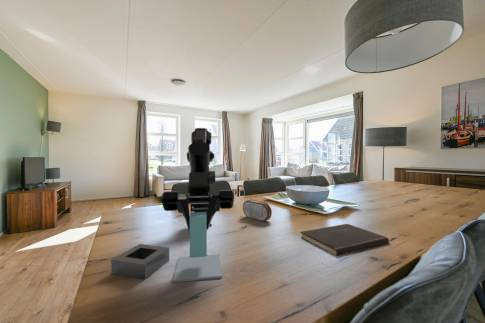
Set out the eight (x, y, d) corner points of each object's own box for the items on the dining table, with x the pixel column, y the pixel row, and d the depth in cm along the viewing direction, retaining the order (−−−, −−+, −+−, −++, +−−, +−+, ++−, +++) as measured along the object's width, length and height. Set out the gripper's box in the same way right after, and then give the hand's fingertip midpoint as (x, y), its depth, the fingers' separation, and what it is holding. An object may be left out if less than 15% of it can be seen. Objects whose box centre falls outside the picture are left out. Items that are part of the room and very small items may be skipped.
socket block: (139, 256, 60) (139, 243, 60) (169, 260, 57) (169, 247, 57) (111, 274, 51) (111, 259, 51) (145, 279, 48) (144, 264, 48)
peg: (191, 250, 55) (190, 212, 55) (206, 249, 56) (206, 211, 56) (189, 257, 51) (189, 216, 51) (206, 256, 52) (206, 216, 52)
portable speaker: (272, 222, 91) (272, 202, 91) (267, 223, 89) (267, 203, 89) (246, 215, 102) (246, 198, 102) (241, 216, 99) (241, 198, 99)
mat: (178, 258, 58) (178, 257, 58) (219, 255, 60) (219, 254, 60) (172, 282, 47) (172, 280, 47) (221, 277, 49) (221, 275, 49)
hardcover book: (300, 238, 75) (300, 231, 75) (347, 229, 84) (347, 223, 84) (336, 258, 60) (336, 250, 60) (389, 244, 69) (389, 237, 69)
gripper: (162, 160, 55) (152, 214, 45) (233, 160, 59) (239, 210, 48) (168, 186, 63) (160, 237, 53) (230, 185, 67) (234, 232, 56)
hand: (198, 229), depth 52 cm, fingers closed on peg, 4 cm apart
